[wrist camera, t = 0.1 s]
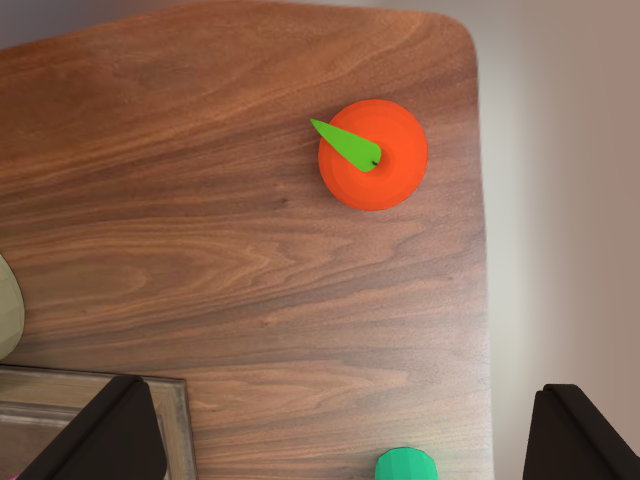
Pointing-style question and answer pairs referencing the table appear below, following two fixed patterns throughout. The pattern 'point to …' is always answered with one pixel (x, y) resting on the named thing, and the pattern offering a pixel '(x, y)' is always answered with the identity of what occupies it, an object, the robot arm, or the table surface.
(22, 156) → the table surface
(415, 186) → the clementine
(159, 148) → the table surface
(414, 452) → the candle
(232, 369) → the table surface
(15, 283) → the bowl
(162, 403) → the book
